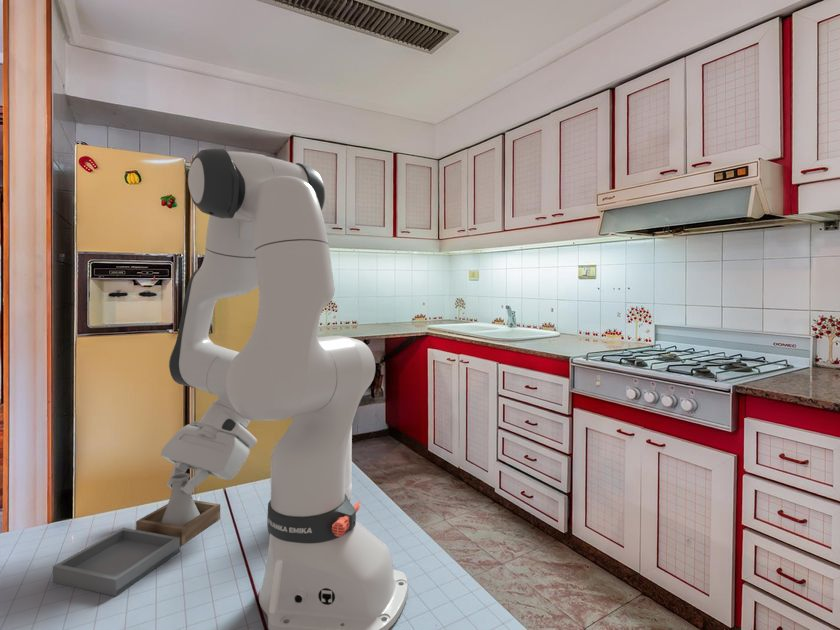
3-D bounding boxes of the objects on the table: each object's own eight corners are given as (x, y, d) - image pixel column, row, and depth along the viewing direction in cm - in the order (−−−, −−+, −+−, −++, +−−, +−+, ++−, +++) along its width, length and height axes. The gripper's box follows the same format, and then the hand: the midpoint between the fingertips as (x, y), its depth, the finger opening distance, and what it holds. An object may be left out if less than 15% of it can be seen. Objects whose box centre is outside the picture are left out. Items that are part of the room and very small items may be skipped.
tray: (179, 551, 79) (179, 537, 79) (116, 596, 67) (115, 580, 67) (123, 540, 83) (123, 527, 82) (53, 582, 71) (52, 566, 70)
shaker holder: (220, 518, 91) (220, 504, 91) (181, 545, 81) (181, 529, 81) (178, 512, 94) (178, 497, 94) (136, 537, 84) (136, 521, 84)
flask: (183, 538, 83) (183, 485, 83) (150, 533, 85) (149, 481, 84) (209, 519, 90) (209, 470, 90) (178, 515, 92) (177, 467, 91)
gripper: (181, 412, 98) (135, 471, 90) (244, 426, 88) (199, 494, 80) (200, 427, 102) (157, 485, 94) (263, 442, 92) (221, 509, 84)
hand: (177, 490), depth 87 cm, fingers closed on flask, 3 cm apart
